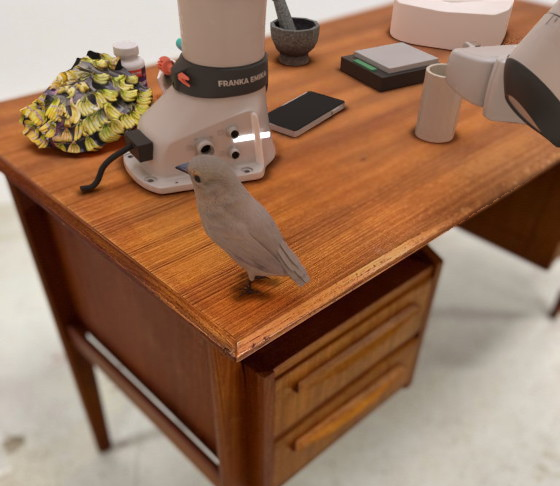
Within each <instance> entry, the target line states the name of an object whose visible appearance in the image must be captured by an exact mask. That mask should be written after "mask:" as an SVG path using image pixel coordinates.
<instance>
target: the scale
mask: <svg viewBox="0 0 560 486" xmlns="http://www.w3.org/2000/svg"><path fill="white" fill-rule="evenodd" d="M439 59H440V58H439V57H436V56H435V55H432V54H430V53H428V52H425V51H423V50H421V49H420V48H419V49H418V48H417V47H414V46H412V45H409V44H408V43H406V42H403V41H400V42H396V43H390V44H384V45H378V46H374V47H373V46H372V47H368V48H362V49H358V50H354V51H353V54H347V55H343V56H340V65H339V70H340V71H342V72H343V73H345V74H347V75H349V76H351V77H353V78H354V79H357V80H358V81H360V82H362V83H364V84H366V85H367V86H369V87H371V88H372V89H375V90H377V91H378V92H380V93H381V92H385V91H388V90H394V89H398V88H402V87H403V88H404V87H407V86H412V85H416V84H421V83H424V78H425V73H426V68H427V67H428V66H429V65H432V64H439V63H440V61H439Z"/></svg>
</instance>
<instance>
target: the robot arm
mask: <svg viewBox="0 0 560 486" xmlns="http://www.w3.org/2000/svg"><path fill="white" fill-rule="evenodd" d="M176 1H177V11H178V13H177V14H178V22H179V23H178V24H179V33H180V38H181V45H182V51H181V52H180V54H179V56H178V58H177V59H176V60H175V61H176V62H175V63H174V62H173V61H172V60H170V59H169V58H170V57H169V56H166V55H163V56H160V57H159V58H158V60H157V61H156V62H157V64H156V66H157V68H158V70H159V71H162V72H163V73H164V74H166V75H171V81H172V85H171V86H170V87H169V88H168V89H167V90H166V91H165V93H164V94H161V95H160V96H159V98H157V100H156V101H154V102H153V103H152V104H151V107H150V108H149V109H147V110H146V111H145V112H144V113H143V114H142V115H141V117H140V118H139V121H138V125H137V127H136V128H135V129H134V130H131V131H127V132H124V135H123V137H124V138H123V139H124V143H125V146H123V147H121V148H120V149H118V150H116V151H115V152H114V153H112V154H110V155H109V156H108V157H107V158H105V159H104V160H103V162H102V163H100V165H99V167H98V170H97V172H96V175H95V178H94V180H93V181H92V182H91V183H90V184H86V185H85V184H84V185H80V186H79V189H80V192H81V193H85V192H90V191H93V190H95V189H96V188H97V187H99V185H100V184H101V182H102V180H103V177H104V174H105V171H106V170H107V168H108V167H109V166H110V165H111V164H112V163H113V162H114V161H115V160H117V159H118V158H121V157H122V156H123V157H122V159H123V167H124V168H125V171H126V172H127V174H128V175H129V177H130V178H131V179H132V180H133V181H134V182H135V183H136V184H137V185H139V186H140V187H141V188H143V189H145V190H147V191H149V192H152V193H156V194H159V195H164V194H172V193H179V192H183V191H191V190H194V188H193V184H192V180H191V178H190V175H189V174H187V173H185V172H182V171H180V170H178V169H176V168H175V167H176V166H178V165H181V164H184V163H188V162H190V161H191V160H192V159H193V158H194V157H196V156H198V155H201V154H207V155H213V156H215V157H218V158H220V159H221V160H223V161H224V162H226V163H227V164H228V165H229V166H230V167H231V168H232V169H233V171H234V172H235V174H236V175H237V177H238V179H239V180H240V182H241V183H243V182H248V181H254V180H259V179H262V178H263V177H264V176H265V174H266V168H267V166H268V165H270V164H271V163H272V162H273V160H274V159H275V158H276V155H277V149H276V145H275V143H274V140H273V134H272V130H271V129H270V124H269V118H268V113H269V110H268V101H267V92H268V89H269V54H268V52H267V51H266V22H267V21H266V19H267V18H266V17H267V6H268V5H267V4H268V0H176ZM168 57H169V58H168ZM446 64H447V67H446V74H445V80H446V83H447V84H448V85H449V86H450V87H451V88H452V89H453V90H454V91H455V92H456V93H457V94H459V95H460V96H461V97H462V98H463V99H464V100H465V101H466V102H468V103H470V104H471V105H473V106H476V107H479V108H482V114H481V115H482V116H483V118H485V119H486V120H488V121H491V122H495V123H497V122H499V123H511V124H519V125H520V124H521V125H525V126H528V127H530V128H531V129H532V130H534V131H535V132H536V133H537V134H539V135H540V136H541V137H543V138H544V139H545V140H547V141H548V142H549V143H550V144H552V145H553V146H554V147H556V148H558V149H559V148H560V0H557V1H556V2H555V3H554V4H553V5H552V7H550V9H549V10H548V11H547V12H546V13H544V14H543V16H542V17H541V18H540V19H539V20H538V21H537V22H536V23H535V25H533V27H532V28H531V29H530V30H529V32H527V34H526V35H525V36H524V38H522V39H521V40H520V41H519V43H515V44H501V45H499V46H485V47H481V45H480V44H479V43H476V42H464V43H463V46H462V48H456V49H454V50H451V52H450V54H449V55H448V59H447V63H446Z"/></svg>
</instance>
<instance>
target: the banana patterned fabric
mask: <svg viewBox="0 0 560 486" xmlns="http://www.w3.org/2000/svg"><path fill="white" fill-rule="evenodd" d="M153 99H154V93H153V88H151V87H149V86H148V87H146V86H144V85H142V84H141V83H140V82H139V79H138V77H137V76H136V75H134V74H132V73H130V72H129V71H127V70H126V69H125V68H124V67H123V66H122V65H121V59H120V57H116V56H114V57H113V56H111V54H109V53H106V52H103V53H102V52H97V51H94V50H90V49H89V50H87V52H86V56H85V55H84V56H82V57H79V56H78V57H76V58H75V61H74V63H73V64H72V66H71V68H69V69H68V70H65V71H61V72H59V73H58V74H57V76H56V77H55V78H54V80H53V81H52V83H50V85H49V86H48V87H47V88H46V89H45V90H44V91H43V92H42V93H41V94H40V95H39V96H38V98H36V99H35V100H33V101H32V102H31V103H29V104H27V105H26V106H24V107H22V108H20V109H18V110H19V112H20V118H19V120H18V123H19V124H20V125H23V127H24V129H23V130H22V131H21V134H22V135H23V136H25V137H26V138H28V139H29V140H30V141H31V143H34V144H35V145H36V146H37V149H59V150H61V151H63V152H64V153H72V154H78V153H95V152H97V151H99V150H102V149H103V148H104V147H105V146H106V145H107V144H109V143H114V142H118V141H119V139H121V137H124V132H127V131H131V130H136V129H137V125H138V121H139V118H140V117H141V115H142V114H143V113H144V112H145V111H146V110H147V109H149V108H150V107H151V106H152V104H153Z"/></svg>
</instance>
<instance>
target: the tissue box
mask: <svg viewBox="0 0 560 486" xmlns="http://www.w3.org/2000/svg"><path fill="white" fill-rule="evenodd" d="M514 3H515V0H393V4H392V13H391V19H390V27H389V28H390V29H389V34H390V36H391V37H392V38H393V39H395V40H397V41H400V42H403V43H405V44H411V45H416V46H421V47H429V48H435V49H442V50H448V51H453V50H454V49H456V48H462V46H463V43H464V42H476V43H479V44H480V45H481V47H485V46H499V45H502V43H503V40H504V39H505V36H506V33H507V31H508V27H509V22H510V19H511V16H512V11H513V7H514Z"/></svg>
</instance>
